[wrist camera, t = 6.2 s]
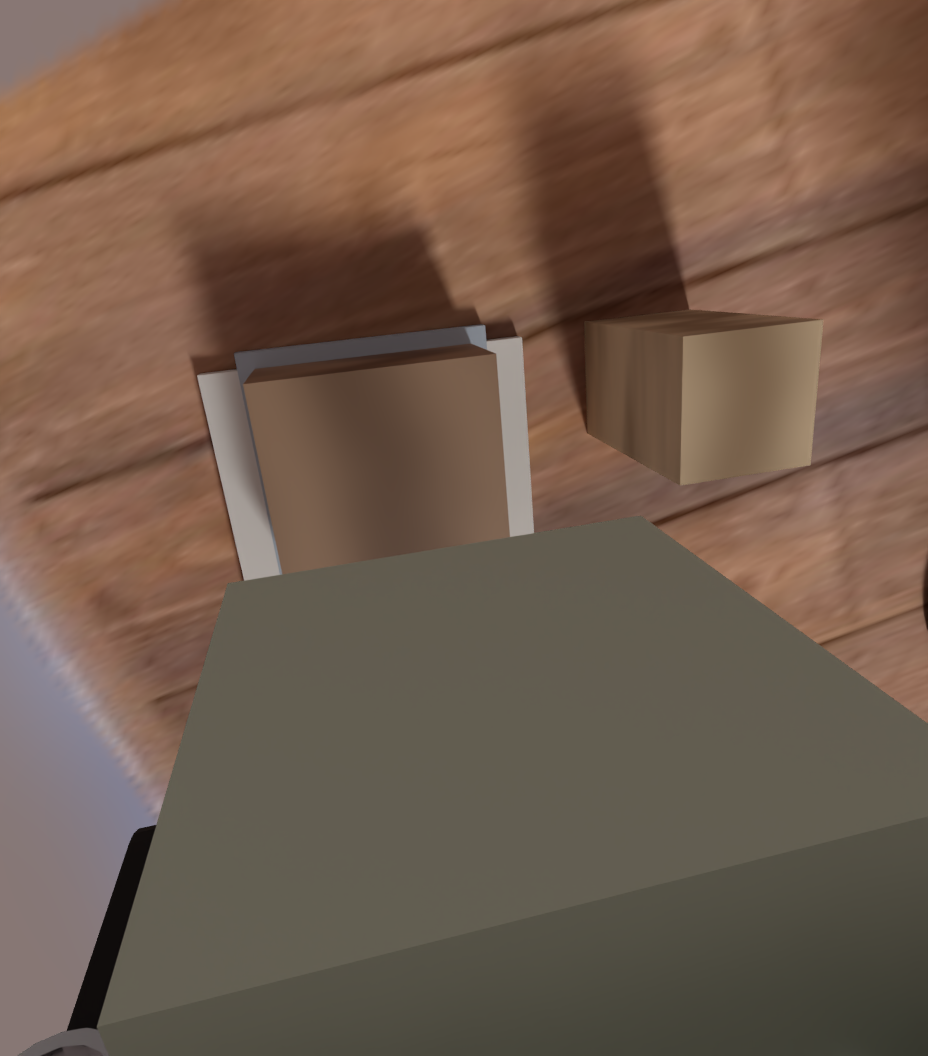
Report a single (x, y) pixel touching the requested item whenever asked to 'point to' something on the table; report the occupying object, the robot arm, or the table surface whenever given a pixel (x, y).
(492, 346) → the pad
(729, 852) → the sage cube
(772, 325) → the oak post
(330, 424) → the foundation
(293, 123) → the table surface
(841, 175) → the table surface
